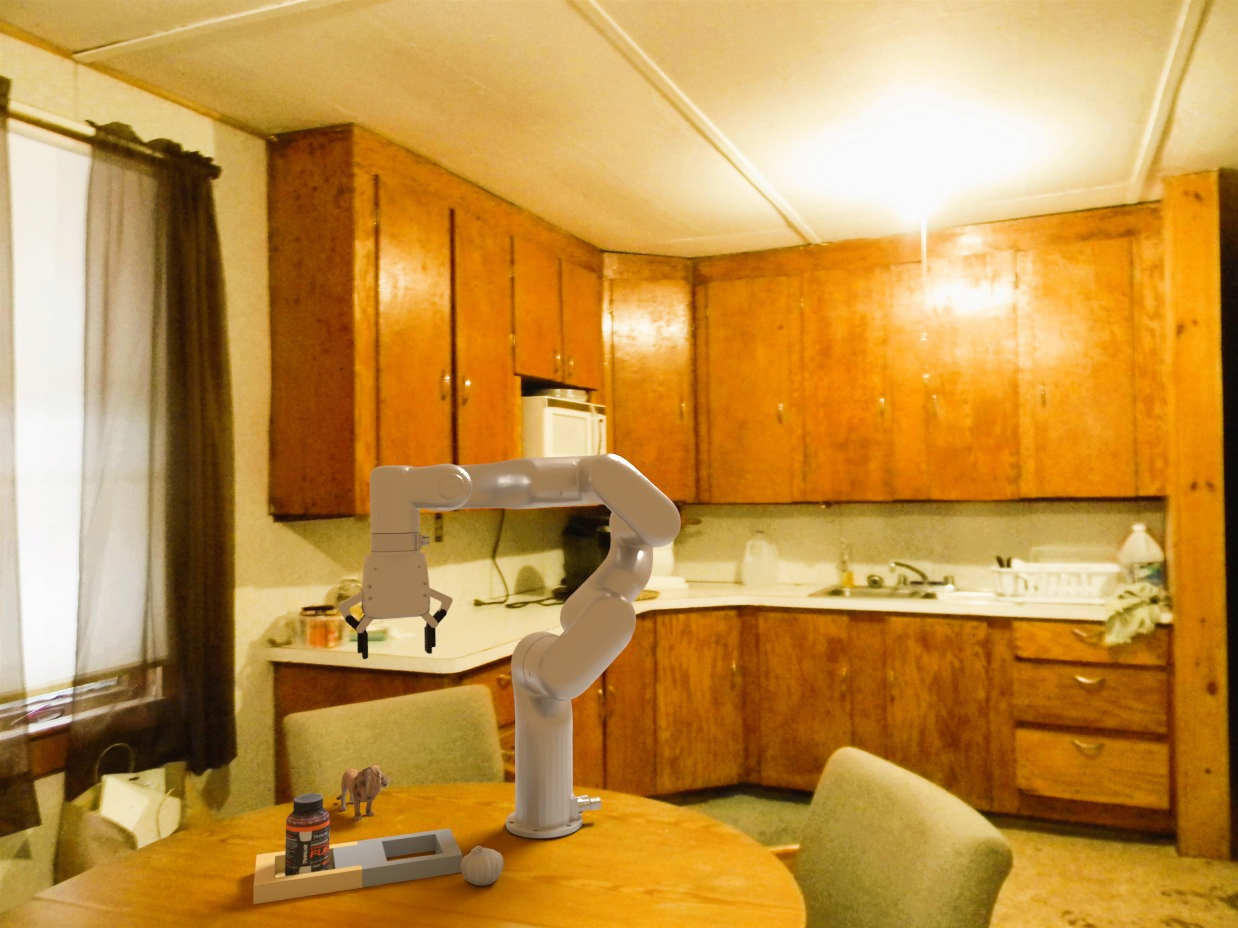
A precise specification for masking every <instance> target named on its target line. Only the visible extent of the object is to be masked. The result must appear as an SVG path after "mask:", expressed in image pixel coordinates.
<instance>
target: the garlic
mask: <svg viewBox="0 0 1238 928" xmlns="http://www.w3.org/2000/svg"><path fill="white" fill-rule="evenodd" d="M502 855H503V854H501V853H500V852H498V851H496V850H495V849H493V848H487V847H482V846H481V845H476V846H475V847H474V848H471V850H470V852H469V853H468V854H466V855H464V856H463V859H462V861H461V864H460V868H461V872H460V873H461V875H462V877H463V878H464V880H466V882H469V883H470V884H472V885H474V886H480V887H484V886H490V885H491V884H493V883H494V882H496V881H497V880H498V879H499V877H500V876H501V875H502V873H503V869H504V857H503V856H502Z"/></svg>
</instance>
